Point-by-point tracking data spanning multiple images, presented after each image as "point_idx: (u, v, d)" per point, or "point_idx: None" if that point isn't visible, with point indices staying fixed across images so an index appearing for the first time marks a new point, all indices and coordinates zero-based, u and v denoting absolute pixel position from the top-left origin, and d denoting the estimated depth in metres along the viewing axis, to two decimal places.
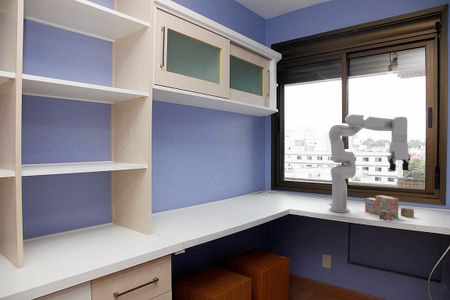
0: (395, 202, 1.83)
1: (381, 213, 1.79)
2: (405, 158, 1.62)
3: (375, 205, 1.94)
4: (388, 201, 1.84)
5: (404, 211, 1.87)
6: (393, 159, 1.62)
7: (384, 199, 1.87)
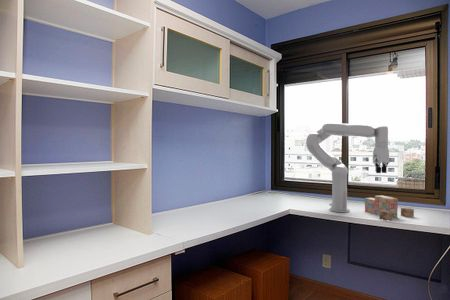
0: (394, 202, 1.83)
1: (381, 213, 1.79)
2: (386, 161, 1.92)
3: (374, 205, 1.94)
4: (387, 201, 1.84)
5: (404, 211, 1.87)
6: None
7: (383, 199, 1.87)
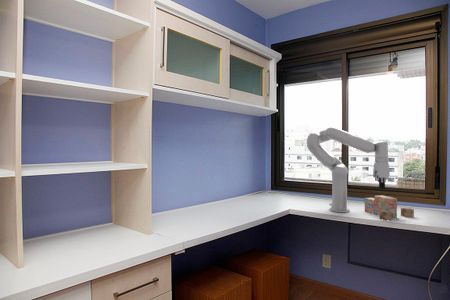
0: (393, 202, 1.83)
1: (381, 213, 1.79)
2: (387, 176, 1.92)
3: (374, 205, 1.94)
4: (387, 201, 1.84)
5: (404, 211, 1.87)
6: None
7: (382, 199, 1.87)
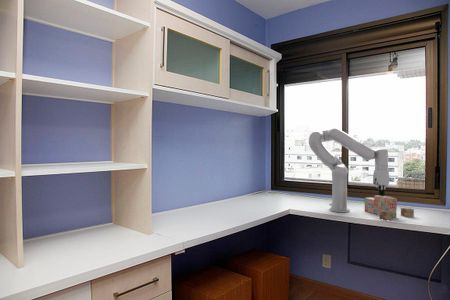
0: (393, 202, 1.83)
1: (381, 213, 1.79)
2: (386, 183, 1.92)
3: (374, 205, 1.94)
4: (386, 200, 1.84)
5: (404, 211, 1.87)
6: None
7: (382, 199, 1.87)
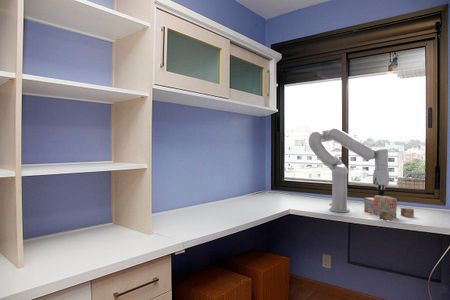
0: (393, 202, 1.84)
1: (381, 213, 1.79)
2: (386, 183, 1.92)
3: (374, 205, 1.94)
4: (386, 200, 1.84)
5: (404, 211, 1.87)
6: None
7: (382, 199, 1.87)
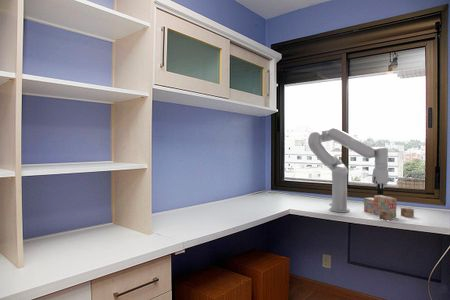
0: (393, 202, 1.84)
1: (381, 213, 1.79)
2: (385, 182, 1.92)
3: (373, 205, 1.94)
4: (386, 200, 1.84)
5: (404, 211, 1.87)
6: None
7: (382, 199, 1.87)
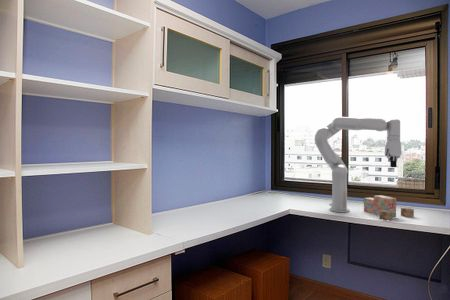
0: (393, 202, 1.84)
1: (381, 213, 1.79)
2: (398, 154, 1.89)
3: (373, 205, 1.95)
4: (386, 200, 1.84)
5: (404, 211, 1.87)
6: None
7: (382, 199, 1.88)
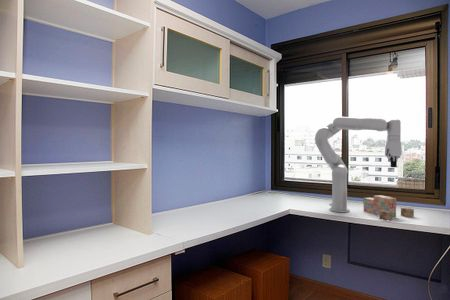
0: (393, 202, 1.84)
1: (381, 213, 1.79)
2: (399, 155, 1.89)
3: (373, 205, 1.95)
4: (386, 200, 1.85)
5: (404, 211, 1.87)
6: (391, 157, 1.90)
7: (382, 199, 1.88)
